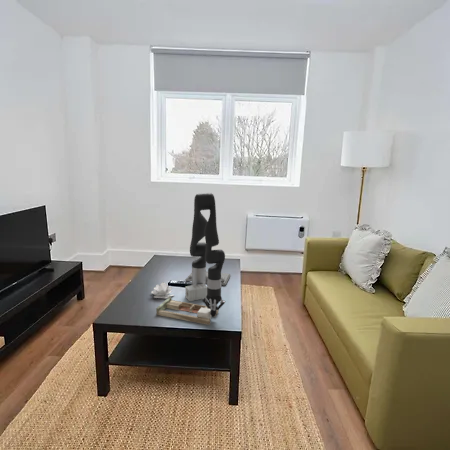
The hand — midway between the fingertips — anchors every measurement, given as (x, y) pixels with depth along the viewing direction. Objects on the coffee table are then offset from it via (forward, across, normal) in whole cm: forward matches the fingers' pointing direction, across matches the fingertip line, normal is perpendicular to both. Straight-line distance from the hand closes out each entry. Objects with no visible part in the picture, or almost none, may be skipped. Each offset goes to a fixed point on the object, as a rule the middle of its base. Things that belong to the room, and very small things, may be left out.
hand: (213, 315), depth 173 cm
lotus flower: (+3, +40, -18) cm, 44 cm away
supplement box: (-1, +24, -19) cm, 31 cm away
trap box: (+2, +16, 0) cm, 16 cm away
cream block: (+2, +5, 0) cm, 6 cm away
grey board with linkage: (+3, +24, -58) cm, 62 cm away
